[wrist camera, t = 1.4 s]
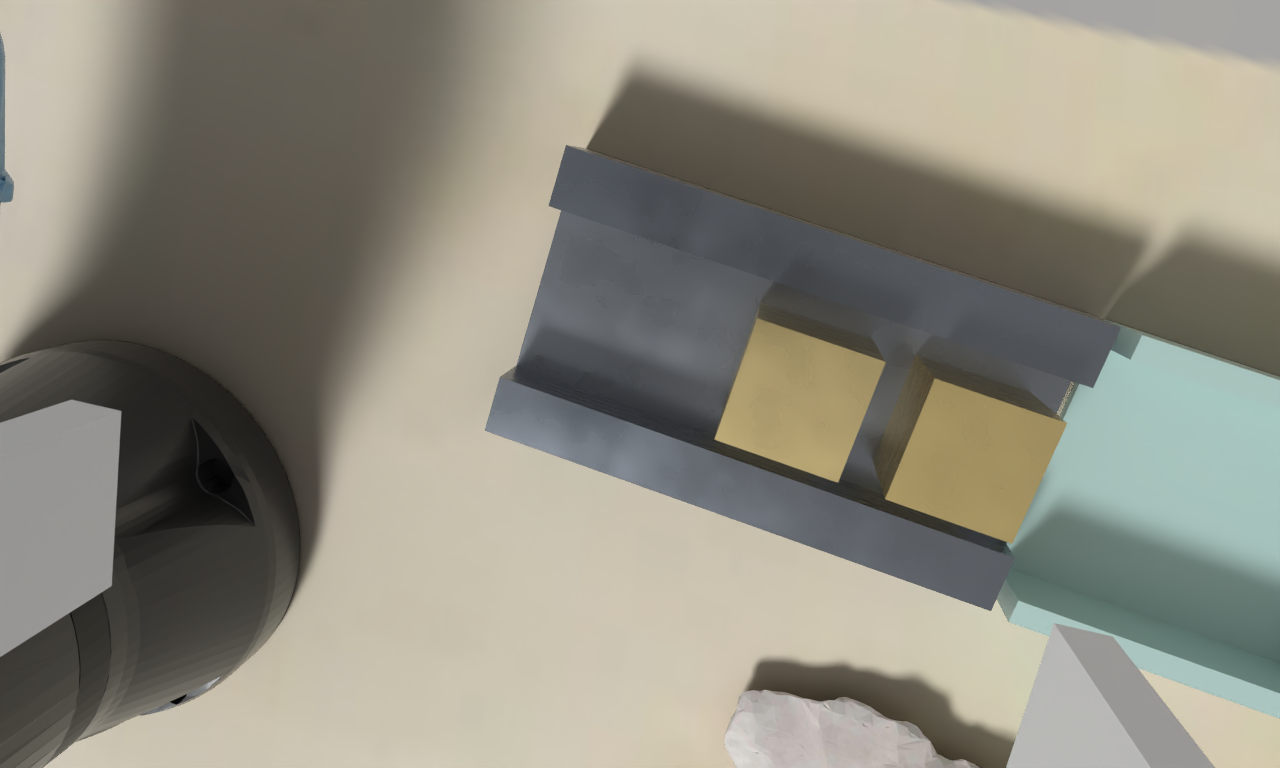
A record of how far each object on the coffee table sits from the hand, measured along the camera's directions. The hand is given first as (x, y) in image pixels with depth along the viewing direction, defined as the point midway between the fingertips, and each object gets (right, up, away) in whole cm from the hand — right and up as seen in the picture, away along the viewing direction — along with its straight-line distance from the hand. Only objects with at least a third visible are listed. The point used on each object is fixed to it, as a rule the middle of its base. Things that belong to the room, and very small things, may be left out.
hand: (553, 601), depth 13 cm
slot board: (+6, +4, +20) cm, 21 cm away
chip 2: (+12, +1, +19) cm, 22 cm away
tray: (+21, -1, +19) cm, 28 cm away
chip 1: (+7, +3, +19) cm, 20 cm away
